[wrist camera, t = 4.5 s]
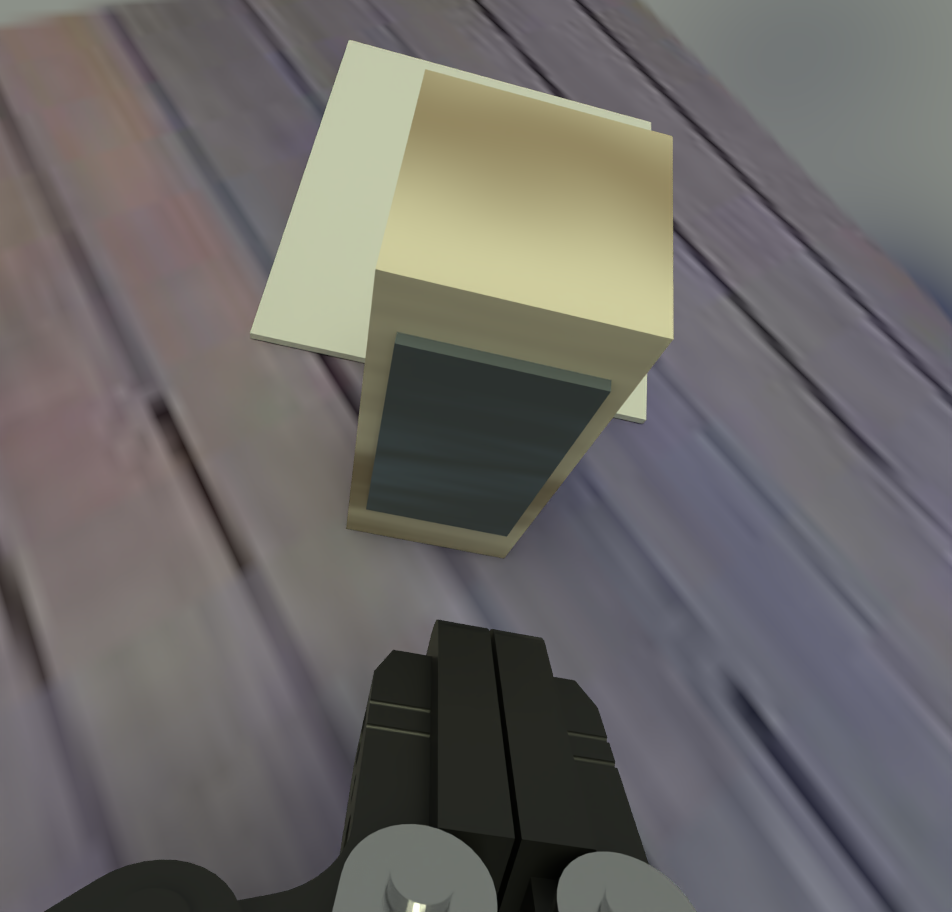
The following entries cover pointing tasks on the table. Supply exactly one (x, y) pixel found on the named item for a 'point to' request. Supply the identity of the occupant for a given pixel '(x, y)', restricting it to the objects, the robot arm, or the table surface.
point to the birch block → (506, 311)
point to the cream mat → (361, 207)
